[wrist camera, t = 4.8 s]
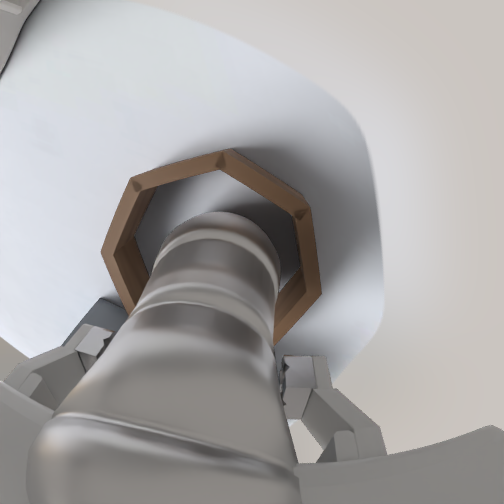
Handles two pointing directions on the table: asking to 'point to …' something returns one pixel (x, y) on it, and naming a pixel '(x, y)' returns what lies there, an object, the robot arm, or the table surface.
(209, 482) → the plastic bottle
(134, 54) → the table surface
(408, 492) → the robot arm
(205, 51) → the table surface
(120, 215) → the collar
